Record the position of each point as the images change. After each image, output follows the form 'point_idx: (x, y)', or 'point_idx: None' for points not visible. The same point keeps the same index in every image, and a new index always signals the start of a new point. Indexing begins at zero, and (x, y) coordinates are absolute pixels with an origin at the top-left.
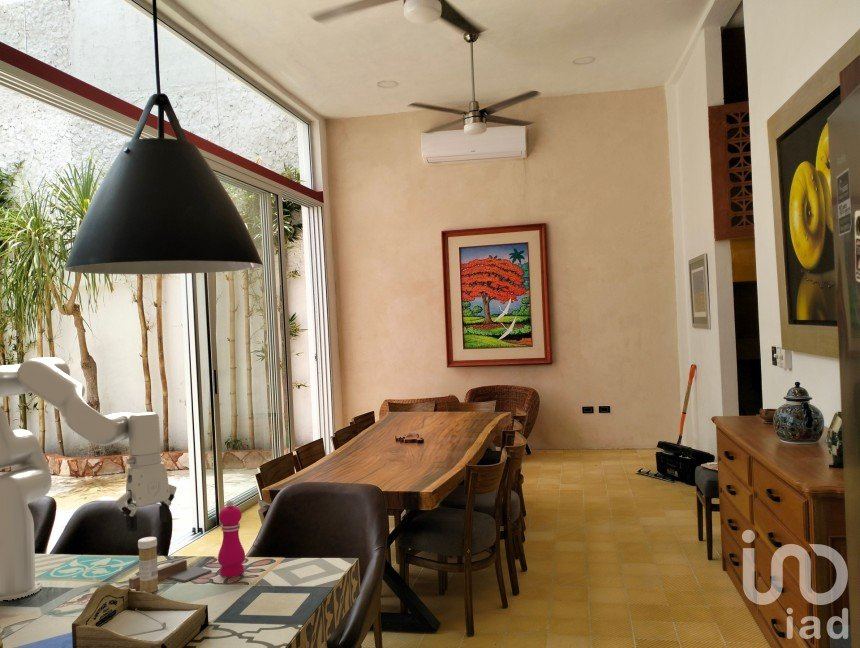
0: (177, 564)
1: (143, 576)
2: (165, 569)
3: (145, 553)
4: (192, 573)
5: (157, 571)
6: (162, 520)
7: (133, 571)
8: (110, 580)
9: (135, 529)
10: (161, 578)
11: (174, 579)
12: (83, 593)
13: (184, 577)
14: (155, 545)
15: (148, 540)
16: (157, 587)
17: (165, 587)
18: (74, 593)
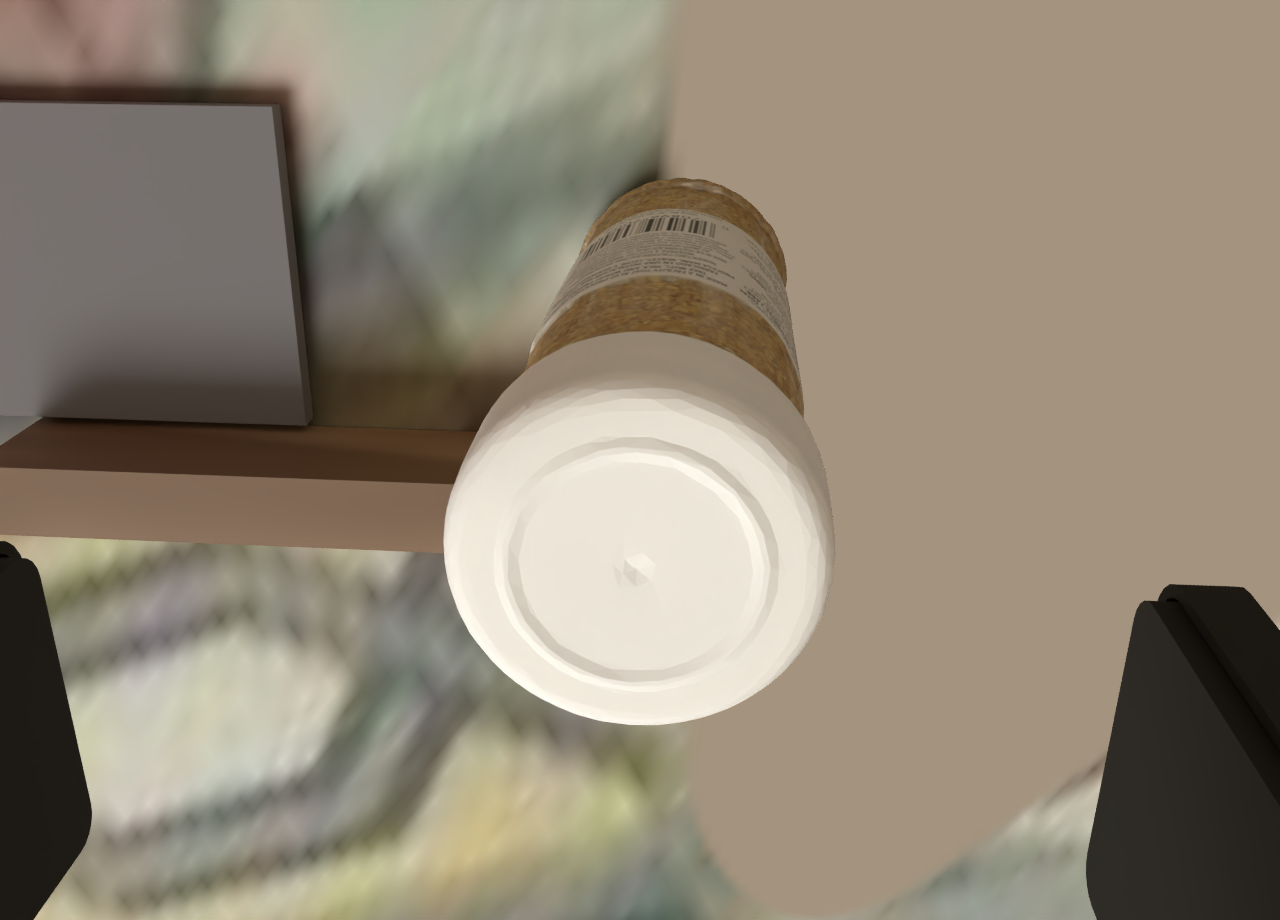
0: (117, 464)
1: (786, 302)
2: (299, 469)
3: (778, 375)
4: (75, 229)
5: (581, 258)
6: (65, 739)
7: (382, 897)
8: (655, 893)
9: (1241, 607)
10: (387, 436)
11: (300, 301)
12: (1016, 839)
13: (215, 201)
14: (579, 345)
15: (701, 456)
16: (621, 201)
17: (514, 187)
18: (1047, 909)
